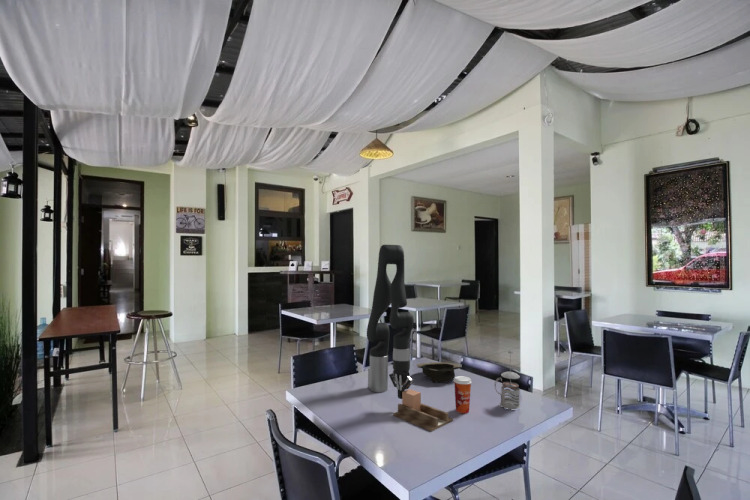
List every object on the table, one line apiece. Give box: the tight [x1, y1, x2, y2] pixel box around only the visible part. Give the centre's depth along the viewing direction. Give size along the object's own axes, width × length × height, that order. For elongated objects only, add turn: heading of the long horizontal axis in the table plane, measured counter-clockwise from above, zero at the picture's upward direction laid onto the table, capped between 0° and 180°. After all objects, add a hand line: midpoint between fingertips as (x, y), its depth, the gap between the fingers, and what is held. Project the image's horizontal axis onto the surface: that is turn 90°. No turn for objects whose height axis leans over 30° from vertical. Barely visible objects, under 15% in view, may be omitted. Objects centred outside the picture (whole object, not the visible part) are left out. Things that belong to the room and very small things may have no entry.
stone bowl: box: [416, 361, 463, 384], centre depth 209 cm, size 25×25×9 cm
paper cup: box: [453, 375, 472, 414], centre depth 163 cm, size 8×8×14 cm
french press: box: [494, 349, 521, 409], centre depth 169 cm, size 10×12×25 cm
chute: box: [392, 403, 454, 432], centre depth 155 cm, size 20×14×4 cm
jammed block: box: [401, 388, 422, 411], centre depth 159 cm, size 6×5×8 cm
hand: (401, 398), depth 163 cm, fingers closed
